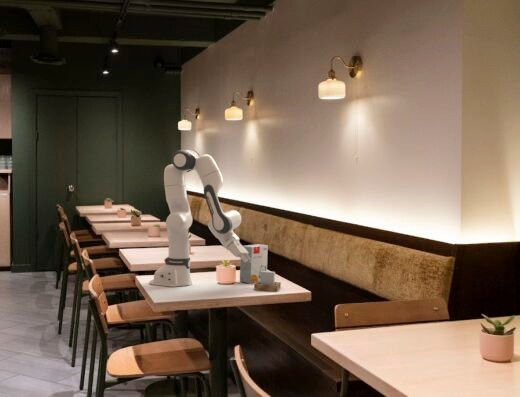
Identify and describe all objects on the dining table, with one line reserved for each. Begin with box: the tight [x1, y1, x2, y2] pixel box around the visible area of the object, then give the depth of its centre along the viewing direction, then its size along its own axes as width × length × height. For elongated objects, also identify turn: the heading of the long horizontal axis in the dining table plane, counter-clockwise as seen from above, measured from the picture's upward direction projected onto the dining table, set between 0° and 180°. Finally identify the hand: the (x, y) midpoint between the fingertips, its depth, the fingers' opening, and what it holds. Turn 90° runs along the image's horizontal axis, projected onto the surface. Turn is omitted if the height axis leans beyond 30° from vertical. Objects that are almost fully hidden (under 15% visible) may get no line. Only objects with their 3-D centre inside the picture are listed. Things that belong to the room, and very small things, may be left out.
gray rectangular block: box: [260, 270, 276, 285], centre depth 334 cm, size 7×3×9 cm, turn 78°
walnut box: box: [253, 281, 282, 292], centre depth 334 cm, size 12×10×3 cm
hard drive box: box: [239, 244, 269, 284], centre depth 355 cm, size 16×8×20 cm, turn 143°
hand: (248, 261), depth 333 cm, fingers open, 8 cm apart
